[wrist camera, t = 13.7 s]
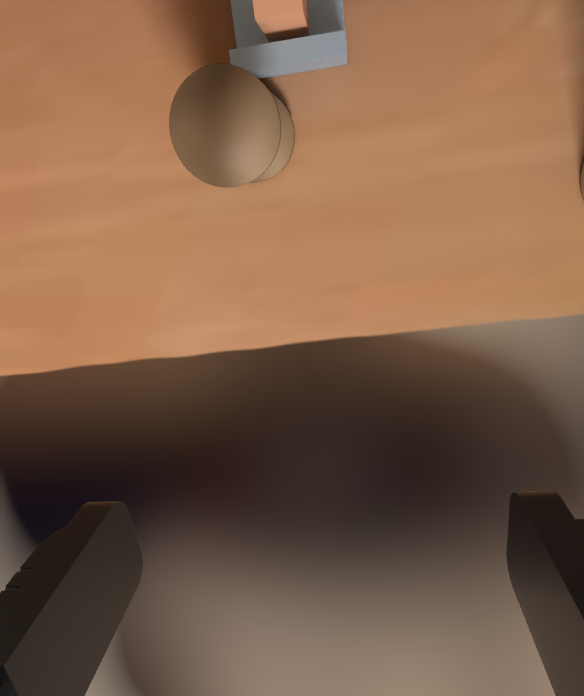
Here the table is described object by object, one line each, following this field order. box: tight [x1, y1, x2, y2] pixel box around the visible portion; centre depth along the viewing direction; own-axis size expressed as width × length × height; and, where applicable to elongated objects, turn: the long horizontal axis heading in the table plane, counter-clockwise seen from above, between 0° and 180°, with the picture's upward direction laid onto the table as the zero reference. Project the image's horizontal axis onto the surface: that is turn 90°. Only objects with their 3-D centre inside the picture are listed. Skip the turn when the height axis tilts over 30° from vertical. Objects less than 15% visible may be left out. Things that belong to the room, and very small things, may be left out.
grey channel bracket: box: [229, 0, 347, 79], centre depth 32 cm, size 8×8×4 cm
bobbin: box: [169, 63, 295, 188], centre depth 33 cm, size 7×7×10 cm
